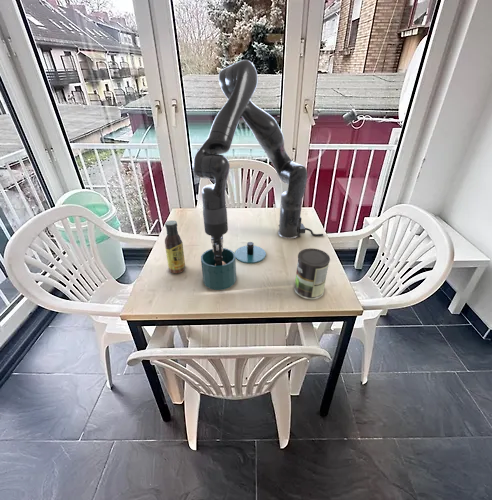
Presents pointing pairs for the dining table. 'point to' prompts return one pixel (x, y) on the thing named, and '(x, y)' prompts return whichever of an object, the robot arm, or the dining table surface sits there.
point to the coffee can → (311, 273)
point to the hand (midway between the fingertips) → (218, 260)
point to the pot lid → (250, 253)
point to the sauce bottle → (174, 248)
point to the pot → (218, 270)
